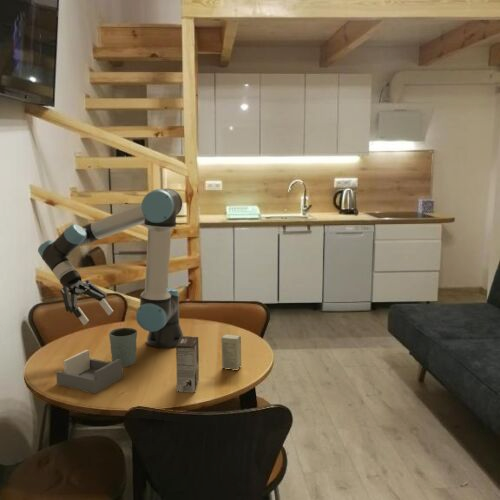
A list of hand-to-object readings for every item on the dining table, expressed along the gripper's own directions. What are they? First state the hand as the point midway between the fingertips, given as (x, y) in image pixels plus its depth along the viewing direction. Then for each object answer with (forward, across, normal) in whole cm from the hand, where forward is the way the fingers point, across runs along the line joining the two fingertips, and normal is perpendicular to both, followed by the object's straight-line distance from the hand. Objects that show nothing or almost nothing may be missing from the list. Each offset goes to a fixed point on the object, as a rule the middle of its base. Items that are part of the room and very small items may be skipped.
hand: (99, 318), depth 184 cm
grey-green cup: (+19, 0, -3) cm, 19 cm away
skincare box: (+46, -12, +25) cm, 54 cm away
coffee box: (+42, +8, +20) cm, 47 cm away
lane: (+19, +18, -3) cm, 26 cm away
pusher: (+14, +18, -7) cm, 24 cm away
